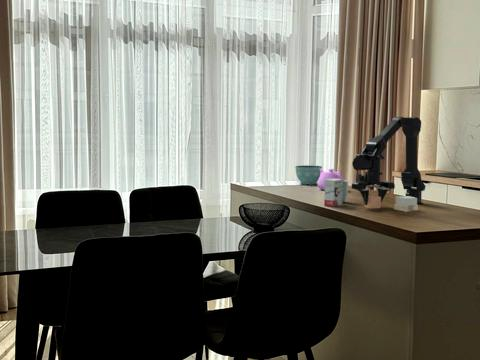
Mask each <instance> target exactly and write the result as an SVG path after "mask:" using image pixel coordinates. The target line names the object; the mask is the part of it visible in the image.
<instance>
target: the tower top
mask: <svg viewBox="0 0 480 360" xmlns="http://www.w3.org/2000/svg"><path fill="white" fill-rule="evenodd" d="M395 204H400V205H418V204H417V198H415V197H410V196H406V195H404V196H399V195H398V196H395Z"/></svg>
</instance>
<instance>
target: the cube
mask: <svg viewBox="0 0 480 360" xmlns="http://www.w3.org/2000/svg"><path fill="white" fill-rule="evenodd" d="M381 204H382V202H381V197H379V196H378V195H374V194H372V195H369V196H368V203H367V205H365V204H364V208H368V209H381V207H382V205H381Z"/></svg>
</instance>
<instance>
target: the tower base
mask: <svg viewBox="0 0 480 360" xmlns="http://www.w3.org/2000/svg"><path fill="white" fill-rule="evenodd" d="M393 210H395V211H400V212H406V213H407V212H415V211H418V210H419V204H417V205H400V204H396V203H393Z"/></svg>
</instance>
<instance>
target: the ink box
mask: <svg viewBox="0 0 480 360" xmlns="http://www.w3.org/2000/svg"><path fill="white" fill-rule="evenodd" d="M343 180H344V178H343V179H325V190H324V204H323V205H324V206H325V207H331V206H332V207H333V208H335V207H338V206H342V205H343V202H342V186H343ZM334 206H335V207H334Z"/></svg>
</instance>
